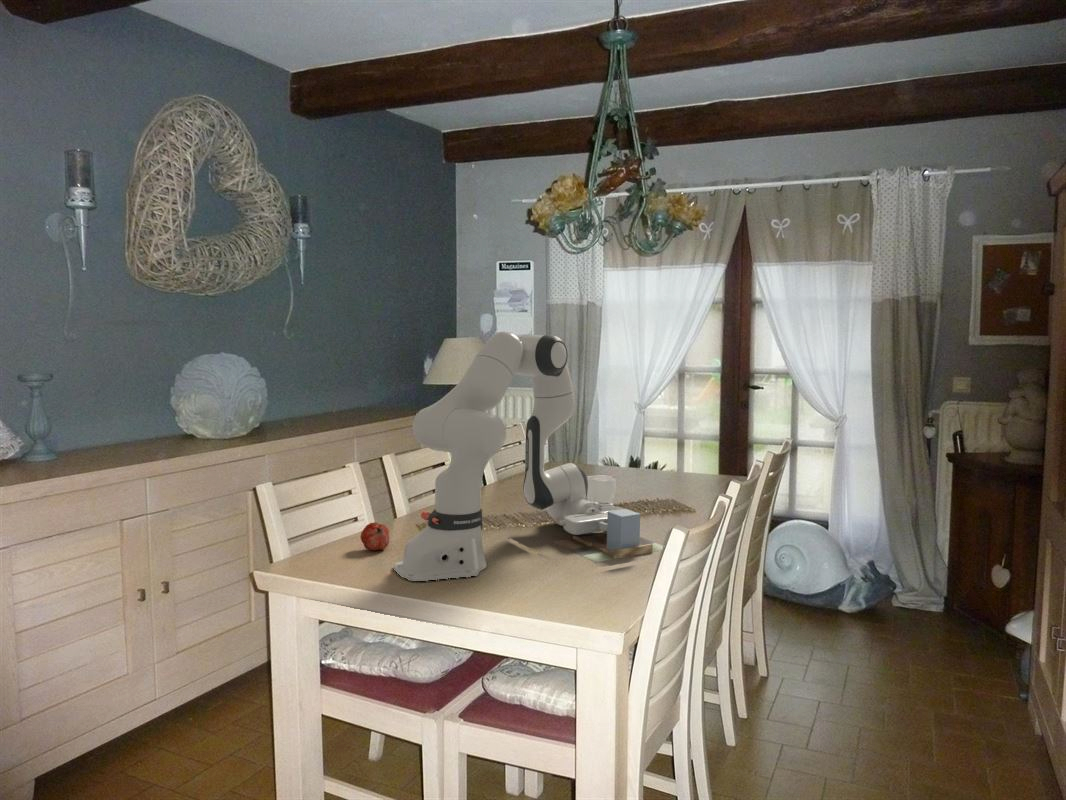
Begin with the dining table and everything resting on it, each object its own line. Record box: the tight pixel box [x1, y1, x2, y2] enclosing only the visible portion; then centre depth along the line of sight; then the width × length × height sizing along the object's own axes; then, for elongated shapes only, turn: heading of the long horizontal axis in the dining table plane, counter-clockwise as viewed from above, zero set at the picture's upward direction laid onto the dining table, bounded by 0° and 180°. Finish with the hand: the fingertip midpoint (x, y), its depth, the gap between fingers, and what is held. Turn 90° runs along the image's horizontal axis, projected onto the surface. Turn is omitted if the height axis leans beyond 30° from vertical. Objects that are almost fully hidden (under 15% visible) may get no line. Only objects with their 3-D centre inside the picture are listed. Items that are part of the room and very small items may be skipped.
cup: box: [586, 474, 616, 504], centre depth 243 cm, size 9×9×12 cm
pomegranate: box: [360, 522, 390, 551], centre depth 205 cm, size 7×7×10 cm
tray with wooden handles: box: [553, 531, 664, 563], centre depth 209 cm, size 24×20×3 cm
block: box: [607, 508, 641, 552], centre depth 204 cm, size 6×6×10 cm
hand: (615, 528), depth 206 cm, fingers closed, pressing on block
